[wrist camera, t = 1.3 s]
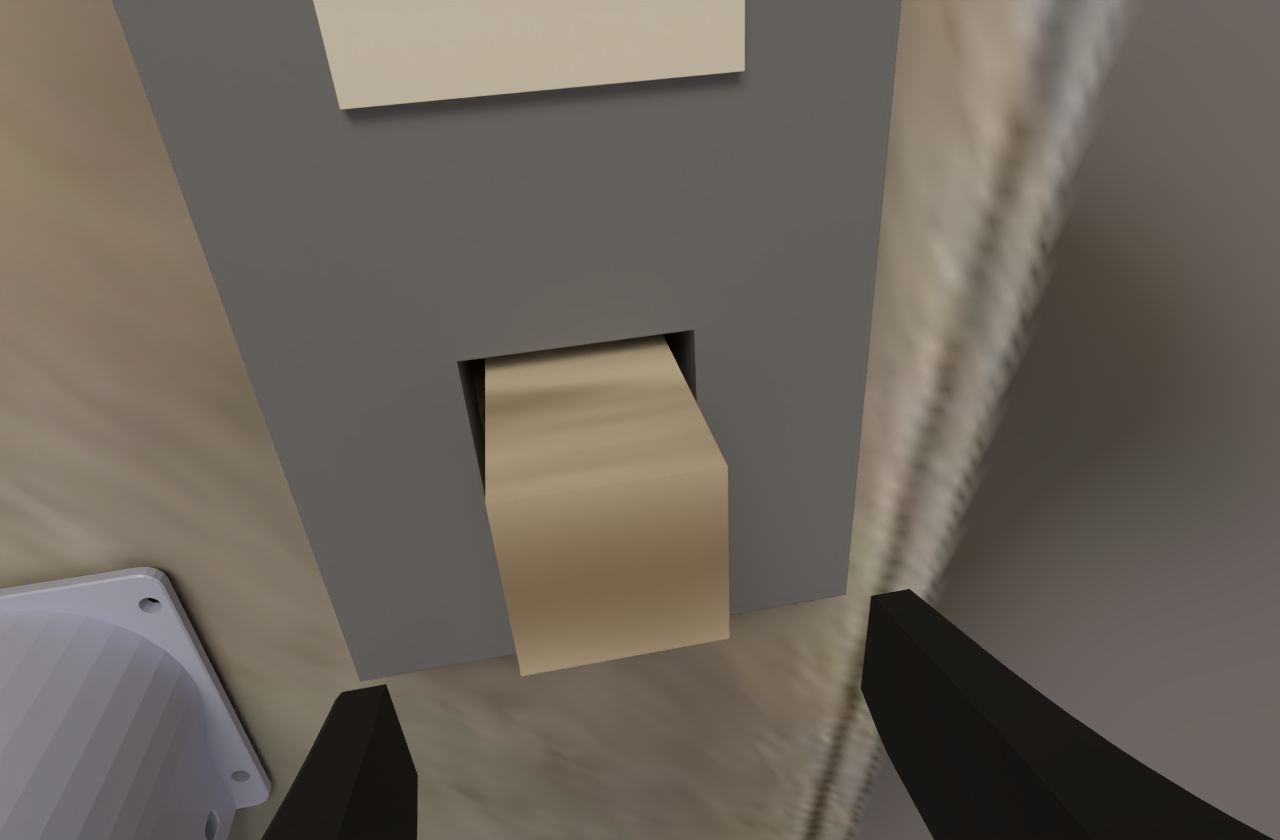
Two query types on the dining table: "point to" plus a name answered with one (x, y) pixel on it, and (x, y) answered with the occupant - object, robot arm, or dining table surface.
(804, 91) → the pocket plate
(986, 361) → the dining table surface
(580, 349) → the peg
